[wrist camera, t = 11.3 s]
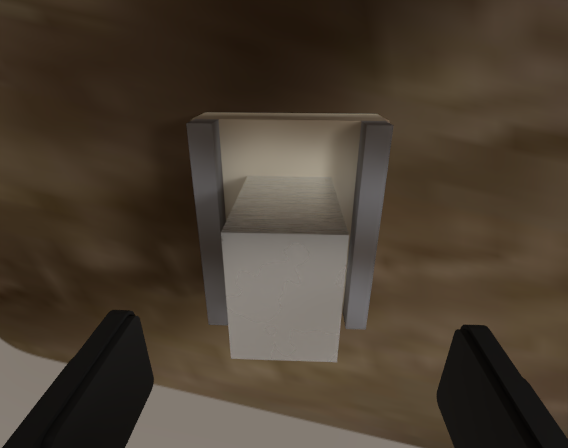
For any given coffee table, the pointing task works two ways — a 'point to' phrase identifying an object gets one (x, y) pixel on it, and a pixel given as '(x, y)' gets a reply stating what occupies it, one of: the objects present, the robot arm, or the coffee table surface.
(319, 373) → the coffee table surface
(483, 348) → the robot arm
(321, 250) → the tall white block
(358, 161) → the cradle
